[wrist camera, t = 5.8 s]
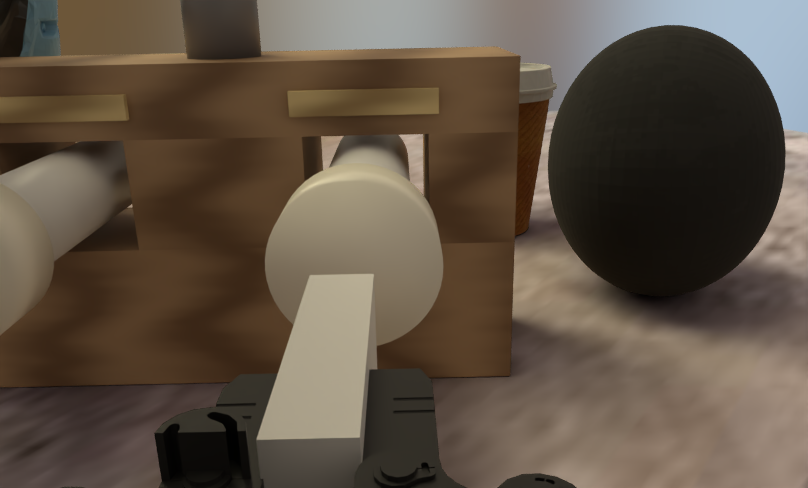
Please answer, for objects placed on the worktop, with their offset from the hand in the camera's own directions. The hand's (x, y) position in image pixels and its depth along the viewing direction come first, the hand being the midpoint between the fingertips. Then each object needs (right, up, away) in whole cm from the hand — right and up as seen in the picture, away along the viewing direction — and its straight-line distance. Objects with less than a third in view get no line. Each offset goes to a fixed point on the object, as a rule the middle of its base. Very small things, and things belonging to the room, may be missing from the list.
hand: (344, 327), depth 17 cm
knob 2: (0, +1, +12) cm, 12 cm away
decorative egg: (+16, -1, +25) cm, 30 cm away
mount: (-6, -3, +19) cm, 20 cm away
